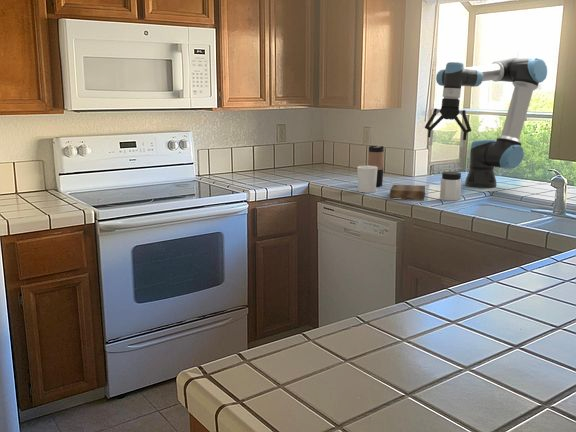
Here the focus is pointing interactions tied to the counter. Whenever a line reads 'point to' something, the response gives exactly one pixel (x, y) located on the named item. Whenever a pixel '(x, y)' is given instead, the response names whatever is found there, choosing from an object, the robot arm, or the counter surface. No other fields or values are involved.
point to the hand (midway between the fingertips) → (445, 146)
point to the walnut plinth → (407, 192)
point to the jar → (450, 186)
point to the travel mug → (377, 162)
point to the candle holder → (367, 178)
